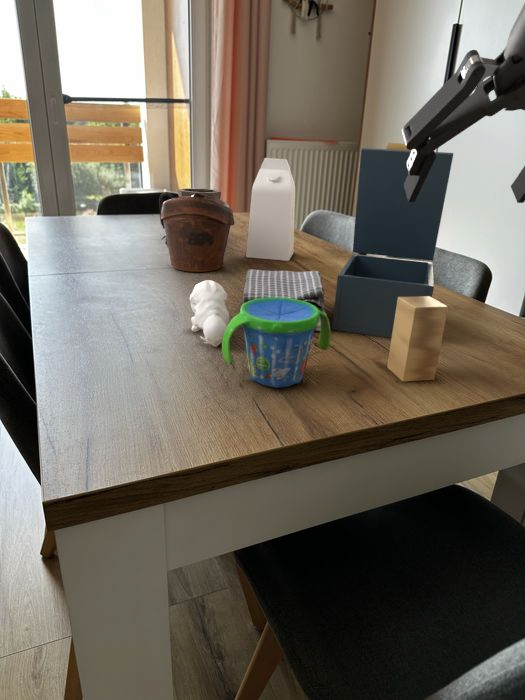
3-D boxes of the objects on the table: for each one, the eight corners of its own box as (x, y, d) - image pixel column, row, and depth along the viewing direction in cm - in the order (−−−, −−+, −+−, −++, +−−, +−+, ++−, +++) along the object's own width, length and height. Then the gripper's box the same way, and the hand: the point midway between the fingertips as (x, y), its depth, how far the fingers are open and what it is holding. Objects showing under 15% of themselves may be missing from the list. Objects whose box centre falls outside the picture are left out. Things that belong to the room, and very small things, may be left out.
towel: (318, 303, 106) (321, 265, 103) (327, 334, 89) (331, 290, 86) (244, 299, 106) (246, 261, 103) (239, 330, 89) (240, 286, 86)
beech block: (416, 365, 78) (429, 296, 74) (434, 379, 74) (448, 306, 69) (386, 367, 77) (397, 296, 73) (402, 381, 72) (415, 307, 68)
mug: (222, 236, 171) (223, 189, 165) (218, 244, 159) (218, 193, 153) (164, 233, 171) (162, 186, 166) (154, 240, 159) (153, 190, 153)
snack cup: (232, 401, 65) (234, 325, 61) (212, 367, 74) (212, 299, 70) (343, 388, 70) (351, 317, 66) (311, 358, 79) (317, 294, 75)
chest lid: (453, 154, 88) (454, 137, 95) (360, 149, 92) (368, 133, 99) (432, 260, 101) (434, 238, 108) (352, 252, 105) (359, 231, 112)
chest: (423, 342, 87) (434, 286, 84) (331, 329, 91) (337, 275, 88) (424, 310, 105) (432, 262, 101) (347, 300, 109) (352, 253, 105)
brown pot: (209, 255, 143) (210, 188, 136) (247, 271, 128) (250, 197, 121) (148, 260, 133) (145, 189, 127) (181, 279, 118) (180, 198, 111)
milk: (293, 252, 152) (300, 159, 142) (288, 260, 142) (295, 160, 132) (253, 249, 154) (257, 157, 144) (246, 257, 143) (249, 157, 134)
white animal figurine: (225, 276, 87) (239, 303, 77) (224, 322, 91) (236, 353, 81) (188, 276, 86) (197, 304, 76) (188, 323, 90) (196, 355, 80)
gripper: (443, 23, 39) (367, 217, 58) (731, 38, 42) (571, 218, 61) (421, -30, 43) (356, 169, 61) (688, -12, 46) (549, 172, 64)
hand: (463, 194), depth 61 cm, fingers open, 13 cm apart
